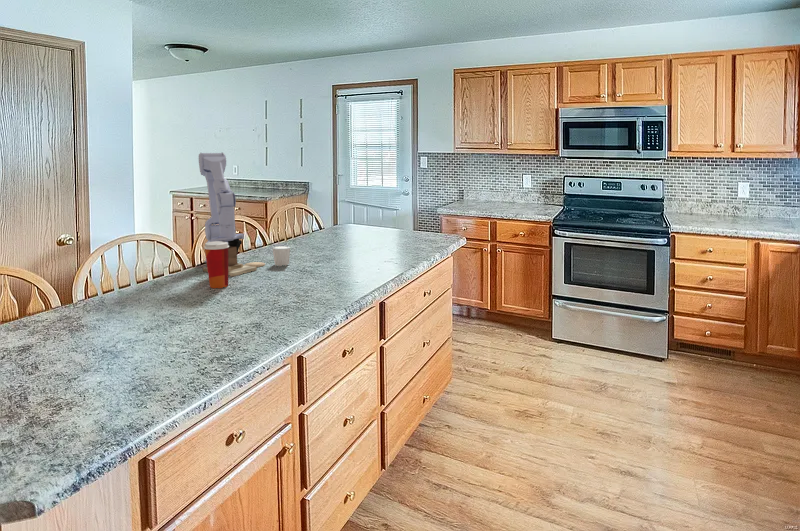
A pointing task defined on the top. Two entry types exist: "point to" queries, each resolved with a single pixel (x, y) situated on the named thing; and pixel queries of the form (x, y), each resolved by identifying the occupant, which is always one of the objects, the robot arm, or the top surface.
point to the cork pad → (255, 264)
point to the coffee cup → (217, 263)
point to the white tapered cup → (281, 255)
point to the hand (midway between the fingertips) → (229, 260)
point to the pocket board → (237, 269)
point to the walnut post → (232, 256)
